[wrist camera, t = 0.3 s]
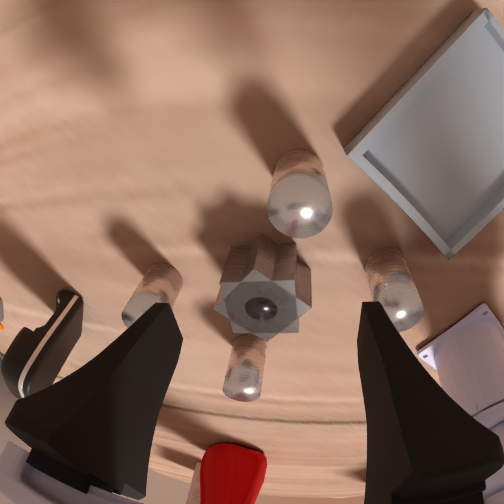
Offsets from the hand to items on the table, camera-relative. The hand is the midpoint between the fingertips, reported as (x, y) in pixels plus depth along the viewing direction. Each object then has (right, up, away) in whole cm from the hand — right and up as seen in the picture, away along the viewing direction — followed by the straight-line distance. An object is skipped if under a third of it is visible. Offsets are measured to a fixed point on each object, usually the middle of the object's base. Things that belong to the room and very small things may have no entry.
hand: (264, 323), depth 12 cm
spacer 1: (-7, +1, +13) cm, 15 cm away
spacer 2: (-1, -6, +16) cm, 17 cm away
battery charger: (-20, -3, +18) cm, 27 cm away
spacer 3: (+2, +7, +7) cm, 10 cm away
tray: (+13, +10, +4) cm, 17 cm away
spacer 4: (+9, +2, +10) cm, 13 cm away
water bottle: (-3, -29, +32) cm, 43 cm away
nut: (+1, +1, +11) cm, 11 cm away
